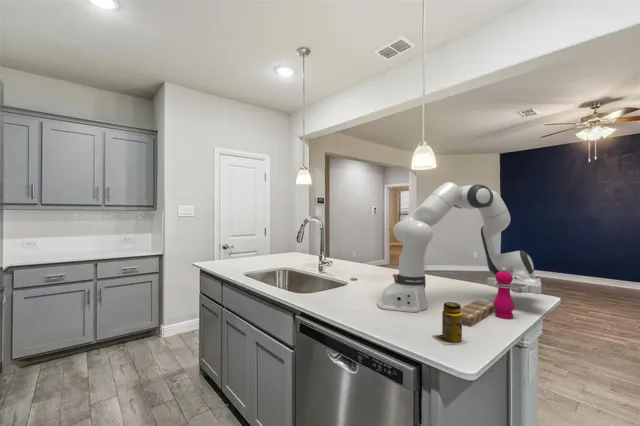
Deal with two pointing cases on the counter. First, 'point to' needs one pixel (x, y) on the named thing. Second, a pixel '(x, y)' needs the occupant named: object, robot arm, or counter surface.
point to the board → (476, 312)
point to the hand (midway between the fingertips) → (508, 287)
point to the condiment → (451, 324)
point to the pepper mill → (504, 295)
